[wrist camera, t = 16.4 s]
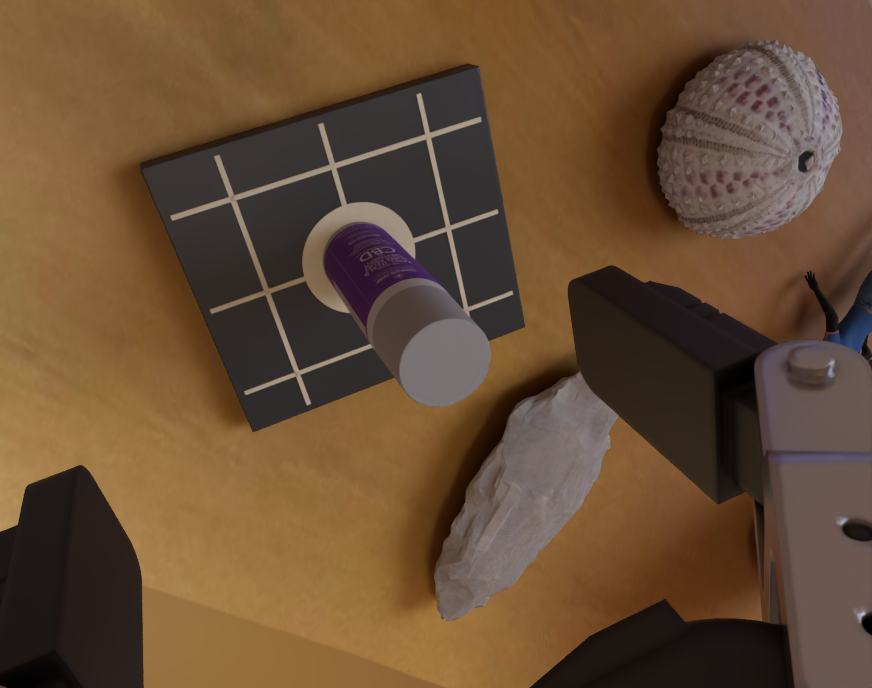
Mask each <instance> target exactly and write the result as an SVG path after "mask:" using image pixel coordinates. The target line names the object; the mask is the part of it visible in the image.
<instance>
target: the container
mask: <svg viewBox="0 0 872 688" xmlns="http://www.w3.org/2000/svg"><path fill="white" fill-rule="evenodd" d="M323 267H324V271H325V274H326V276H327V278H328V279H329V281H330V283H331V284H332V286H333V287H334V289H335V290H336V292H337V293H338V295H339V296H340V298H341V300H342V301H343V303H344V304H345V306H346V307H347V309H348V310H349V312H350V313H351V315H352V316H353V318H354V320H355V321H356V323H357V324H358V326H359V327H360V329H361V330H362V332H363V333H364V335H365V337H366V338H367V340H368V341H369V343H370V344H371V346H372V347H373V349H374V350H375V351H376V353H377V354H378V355H379V357H380V358H381V359H382V361H383V362H384V364H385V365H386V366H387V368H388V369H389V370H390V372H391V373H392V375H393V376H394V377H395V379H396V380H397V381H398V383H399V384H400V386H401V387H402V388H403V390H404V391H405V392H406V394H407V395H408V396H409V397H410V398H411V399H413V400H414V401H416V402H417V403H420V404H422V405H425V406H430V407H443V406H448V405H452V404H455V403H457V402H459V401H461V400H463V399H465V398H466V397H468V396H469V395H470V394H471V393H473V392H474V391H475V390H476V389H477V387H478V386H479V385H480V384H481V382H482V381H483V379H484V378H485V376H486V374H487V371H488V369H489V365H490V359H491V350H490V345H489V341H488V339H487V337H486V335H485V334H484V332H483V331H482V330H481V329H480V328H479V327H478V325H477V324H476V323H475V322H474V321H473V320H472V319H471V318H470V317H469V316H468V314H467V313H466V312H465V311H464V310H463V309H462V308H461V307H460V306H459V305H458V303H457V302H456V301H455V300H454V299H453V298H452V297H451V296H450V295H449V294H448V292H447V291H446V290H445V289H444V288H443V287H442V286H441V285H440V284H439V283H438V282H437V281H436V280H435V279H434V278H433V277H432V276H431V275H430V274H429V273H428V272H427V271H426V270H425V269H424V268H423V267H422V266H421V265H420V264H419V263H418V262H417V261H416V260H415V259H414V258H413V257H412V256H411V255H410V254H409V253H408V252H407V251H406V250H405V249H404V248H403V247H402V246H401V245H400V244H399V243H398V242H397V241H396V240H395V239H394V238H393V237H392V236H391V235H390V234H389V233H387V232H386V231H385V230H384V229H383V228H381V227H380V226H378V225H376V224H373V223H369V222H354V223H351V224H348V225H345V226H343V227H342V228H340V229H339V230H337V231H336V232H335V233H334V234H333V235H332V236H331V238H330V239H329V241H328V242H327V244H326V247H325V249H324V253H323Z"/></svg>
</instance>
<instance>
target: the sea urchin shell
mask: <svg viewBox="0 0 872 688" xmlns="http://www.w3.org/2000/svg"><path fill="white" fill-rule="evenodd" d="M833 94H834V92H833V91H831V90H829V88H828V84H827V83H826V82H825V81H824V76H822V75H821V74H820V72H819V71H818V70H817V69H816V68H815V65H814V64H813V61H810V57H804V55H803V52H798V51H796V52H794V51H793V50H792V49H791V47H789V46H788V47H786V46H785V45H784V44H782V45H780V44H779V42H778V40H777V39H776V40H774V41H772V42H770V41H769V40H765V41H763V42H761V41H759V40H758V41H757V42H756V43H755V44H752V43H749V42H747V44H746V45H745V46H744V47H743V48H742V49H739V50H732V51H731V52H729V53H728V54H723V55H722V56H717V57H716V58H715V60H714V61H713V63H710V64H709V65H708V67H706V68H704V69H703V70H702V71H698V72H697V74H696V76H695V78H694V79H692V80H690V81H688V82H687V83H686V85H685V89H684V91H683V92H682V93H681V94H679V97H678V102H677V104H676V106H675V107H674V109H672V110H670V111H667V120H666V122H665V125H664V126H663V127H662V128H660V130H661V132H662V133H663V139H662V142H661V144H660V146H659V147H658V148H657V152H658V154H659V158H658V160H657V161H658V162H657V165H658V167H659V171H658V175H659V176H660V183H659V184H660V185H661V186H662V192H663V193H665V198H666V199H668V200H669V206H671V207H672V208H674V209H676V213H677V214H678V221H680V222H684V225H685V227H689V229H690V231H696V233H697V235H699V234H703V233H706V234H708V235H709V236H711V237H717V236H719V237H721V238H723V239H724V240H726V239H729V238H733V239H734V238H736V239H737V238H741V237H743V236H753V237H755V236H756V235H758V234H759V233H762V234H763V233H764V232H766V231H769V232H772V231H774V230H775V229H776V228H781V227H782V226H783V225H784V224H787V223H789V222H790V221H791V220H794V219H795V218H797V217H798V216H799V215H800V214H801V213H802V212H803V211H804V210H805V209H806V208H808V207H809V205H810V204H811V203H812V201H813V200H814V199H815V197H816V196H817V195H818V194H820V191H822V190H823V183H824V181H825V178H826V176H827V174H828V172H829V169H830V167H831V165H832V162H833V160H834V158H835V156H837V155H838V152H839V151H840V146H839V143H840V138H841V135H842V121H841V115H840V113H839V106H838V105H837V101H838V99H837V98H836V97H834V96H833Z"/></svg>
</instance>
